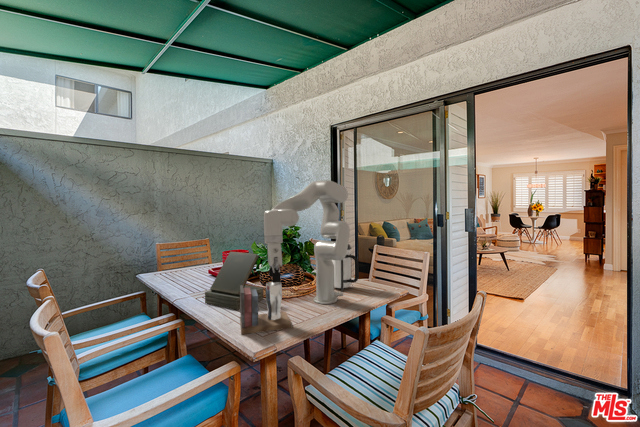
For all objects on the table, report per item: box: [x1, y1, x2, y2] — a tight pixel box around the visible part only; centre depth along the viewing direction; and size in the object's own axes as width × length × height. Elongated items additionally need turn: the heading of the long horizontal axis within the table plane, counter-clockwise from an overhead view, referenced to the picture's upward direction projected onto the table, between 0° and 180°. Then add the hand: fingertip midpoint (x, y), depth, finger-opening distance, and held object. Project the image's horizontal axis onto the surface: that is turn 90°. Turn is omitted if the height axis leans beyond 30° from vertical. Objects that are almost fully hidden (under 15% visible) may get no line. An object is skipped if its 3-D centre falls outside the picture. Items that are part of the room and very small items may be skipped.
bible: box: [204, 251, 265, 311], centre depth 157 cm, size 23×20×25 cm
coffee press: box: [332, 243, 360, 293], centre depth 178 cm, size 17×16×30 cm
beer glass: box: [265, 281, 283, 321], centre depth 127 cm, size 7×7×15 cm
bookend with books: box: [239, 285, 293, 335], centre depth 126 cm, size 20×14×16 cm
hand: (274, 279), depth 127 cm, fingers open, 9 cm apart
